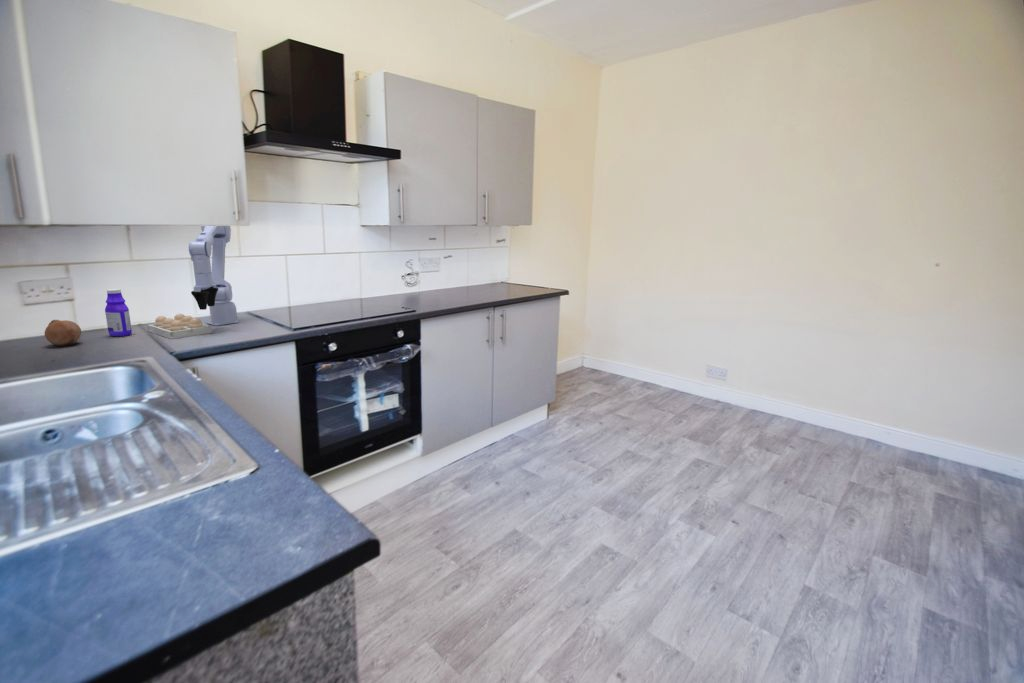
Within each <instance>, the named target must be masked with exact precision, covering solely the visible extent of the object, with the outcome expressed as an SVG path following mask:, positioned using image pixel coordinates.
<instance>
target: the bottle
mask: <svg viewBox="0 0 1024 683" xmlns="http://www.w3.org/2000/svg"><path fill="white" fill-rule="evenodd" d="M106 293H107V294H106V295H107V296H106V300H105V303H106V306H105V308H104V313H105V319H106V325H107V330H108V334H109V335H110V337H127V336H130V335H132V330H133V329H132V323H131V316H130V309H129V307H128V305H127V304H126V300H125V299H124V297H123V294H122V289H120V288H109V289H106Z"/></svg>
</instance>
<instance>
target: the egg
mask: <svg viewBox="0 0 1024 683" xmlns="http://www.w3.org/2000/svg"><path fill="white" fill-rule="evenodd" d="M202 322H203V321H202V320H201V318H198V317H192V319H191V320H190V328H191V329H193V328H200V327H202V324H203V323H202Z"/></svg>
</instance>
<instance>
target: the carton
mask: <svg viewBox="0 0 1024 683" xmlns="http://www.w3.org/2000/svg"><path fill="white" fill-rule="evenodd" d="M192 318H193V316H191V315H185V314H183V313H177V314H175V316H174V317H173V318H170V317H166V316H163V315H160V316H157V317H156V318H155V323H151V324H147V332H150V333H151V334H152V333H153V334H155V335H158V336H162V337H164V338H167V339H170V340H174V339H175V340H176V339H181V338H187V337H193V336H199V335H207V334H211V333H212V326H211V325H209V324H204V323H202V327H200V328H193V329H191V328H190V320H191V319H192Z"/></svg>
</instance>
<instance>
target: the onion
mask: <svg viewBox="0 0 1024 683" xmlns="http://www.w3.org/2000/svg"><path fill="white" fill-rule="evenodd" d="M81 334H82V329H81V327H80V326H79V324H78V323H76V322H74V321H71V320H59V319H52V320H51V321H50V322H49V323H48V326H47V327H45V330H44V337H45V339H46V340H47V341H48V342H49V343H50V344H52V345H54V346H55V347H58V346H60V347H62V346H64V347H65V346H67V347H68V346H73V345H75V343H76V342H78V341H79V339H80V337H81V336H82V335H81Z"/></svg>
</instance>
